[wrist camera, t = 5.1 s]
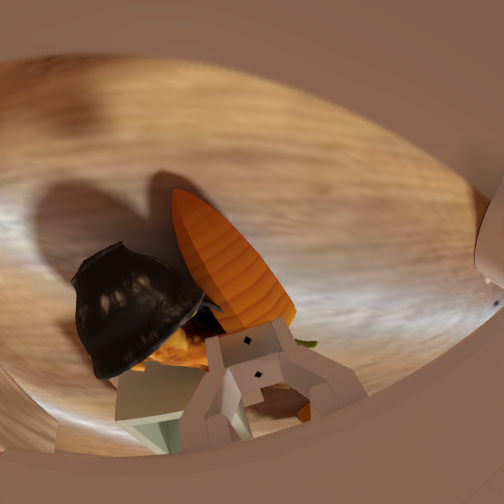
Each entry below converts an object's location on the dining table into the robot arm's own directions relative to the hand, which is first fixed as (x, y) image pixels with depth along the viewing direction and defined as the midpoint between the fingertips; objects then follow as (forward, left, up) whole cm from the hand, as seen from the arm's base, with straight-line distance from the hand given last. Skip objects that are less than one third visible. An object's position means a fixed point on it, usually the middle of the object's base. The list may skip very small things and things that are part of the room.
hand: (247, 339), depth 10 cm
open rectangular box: (+7, +14, -11) cm, 19 cm away
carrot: (+2, -4, -10) cm, 11 cm away
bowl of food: (+7, -2, -8) cm, 11 cm away
